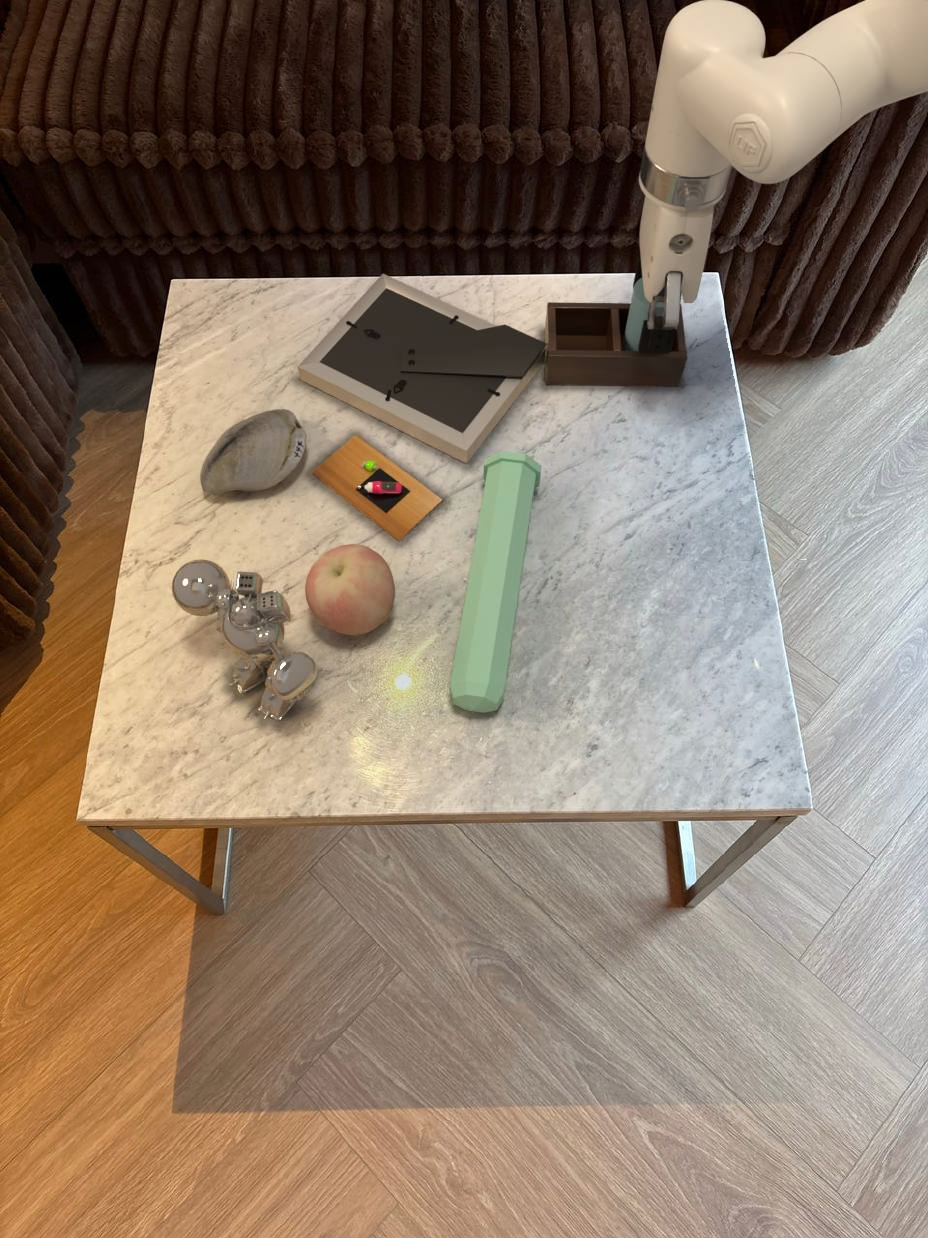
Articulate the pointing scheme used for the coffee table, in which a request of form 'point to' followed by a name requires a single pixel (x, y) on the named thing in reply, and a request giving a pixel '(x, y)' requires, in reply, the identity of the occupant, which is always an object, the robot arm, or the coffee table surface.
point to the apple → (350, 589)
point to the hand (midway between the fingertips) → (650, 319)
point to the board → (377, 487)
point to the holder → (604, 349)
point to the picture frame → (424, 366)
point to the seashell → (254, 453)
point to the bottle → (638, 317)
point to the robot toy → (248, 631)
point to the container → (494, 582)
